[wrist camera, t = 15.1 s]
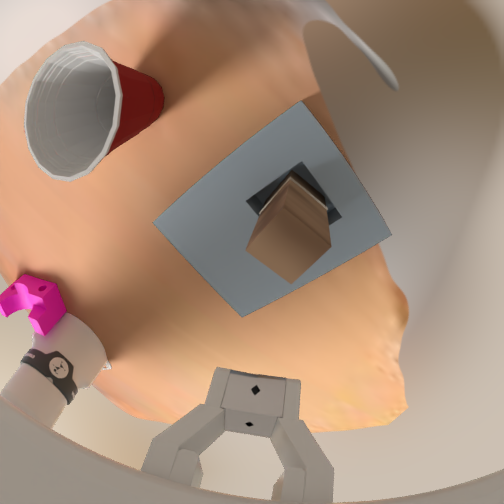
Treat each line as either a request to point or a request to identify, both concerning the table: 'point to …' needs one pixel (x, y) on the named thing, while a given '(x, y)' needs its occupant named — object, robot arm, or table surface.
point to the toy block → (34, 302)
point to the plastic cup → (85, 109)
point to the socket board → (251, 203)
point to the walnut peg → (291, 229)
